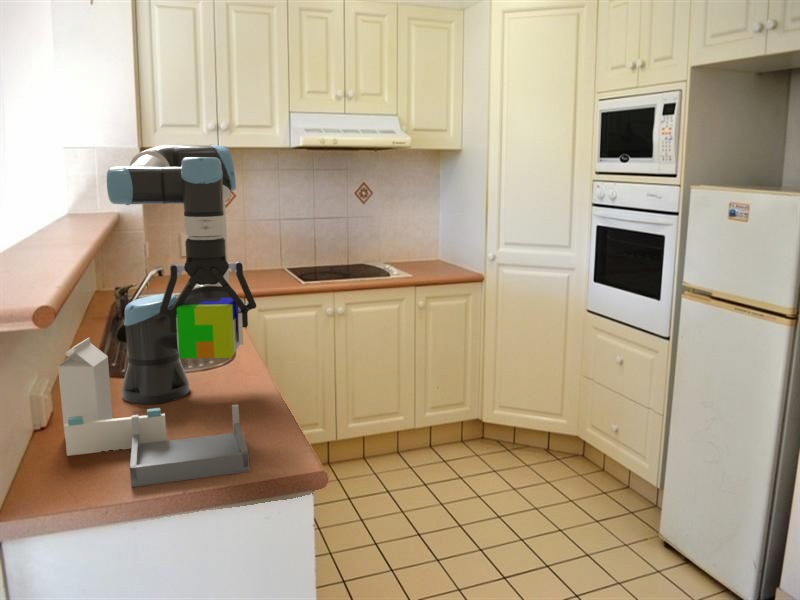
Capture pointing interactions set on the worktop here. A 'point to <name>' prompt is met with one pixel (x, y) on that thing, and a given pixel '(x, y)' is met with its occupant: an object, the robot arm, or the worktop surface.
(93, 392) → the milk carton
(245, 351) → the worktop surface
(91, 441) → the cover panel
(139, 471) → the grey tray
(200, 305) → the puzzle toy
